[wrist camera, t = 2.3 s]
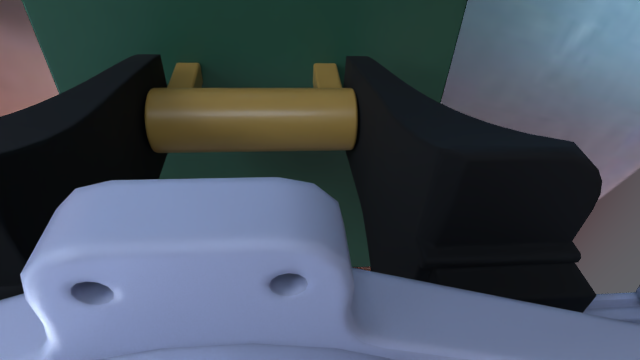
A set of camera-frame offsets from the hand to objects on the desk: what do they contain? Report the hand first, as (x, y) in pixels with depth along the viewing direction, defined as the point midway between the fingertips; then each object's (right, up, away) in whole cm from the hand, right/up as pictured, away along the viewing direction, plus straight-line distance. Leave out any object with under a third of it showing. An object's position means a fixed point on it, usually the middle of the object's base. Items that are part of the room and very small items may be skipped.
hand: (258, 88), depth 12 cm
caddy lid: (0, -1, +3) cm, 3 cm away
